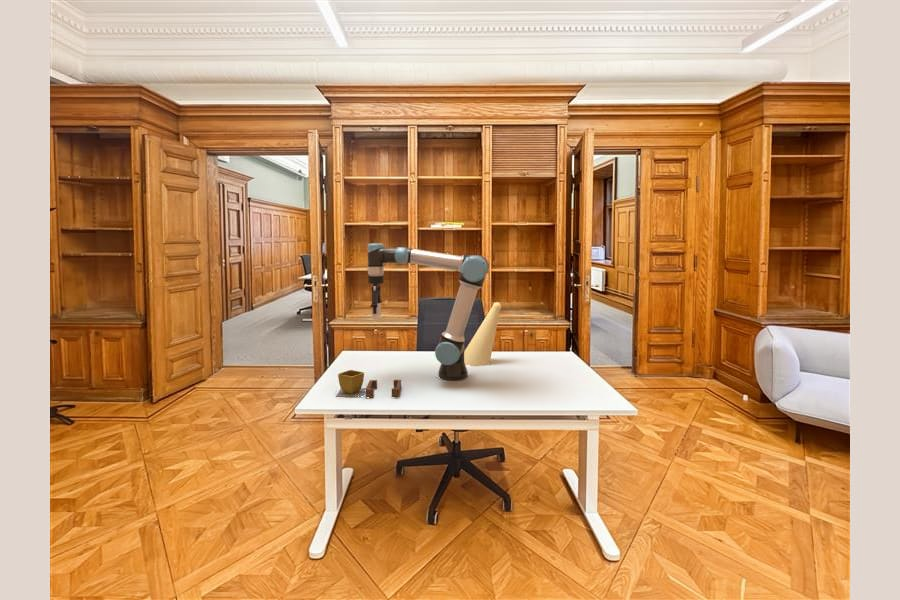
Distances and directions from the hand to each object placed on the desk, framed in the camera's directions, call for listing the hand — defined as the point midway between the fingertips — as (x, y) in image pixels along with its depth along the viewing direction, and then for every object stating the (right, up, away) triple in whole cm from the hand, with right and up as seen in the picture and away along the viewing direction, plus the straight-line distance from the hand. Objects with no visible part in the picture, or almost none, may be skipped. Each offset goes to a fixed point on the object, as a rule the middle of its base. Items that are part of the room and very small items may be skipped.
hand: (376, 318), depth 246 cm
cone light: (+53, -27, +41) cm, 72 cm away
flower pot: (-9, -34, -16) cm, 38 cm away
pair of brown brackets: (+6, -34, -16) cm, 38 cm away
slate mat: (-9, -34, -16) cm, 39 cm away
